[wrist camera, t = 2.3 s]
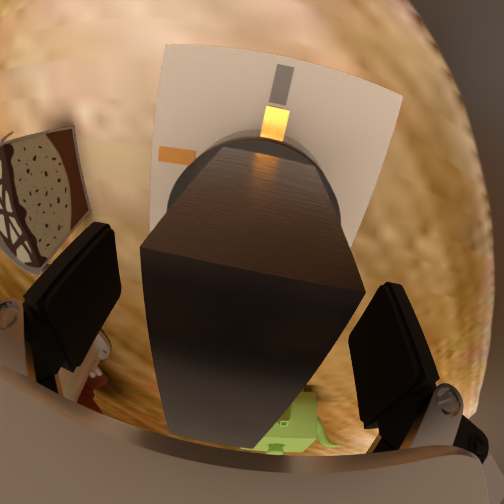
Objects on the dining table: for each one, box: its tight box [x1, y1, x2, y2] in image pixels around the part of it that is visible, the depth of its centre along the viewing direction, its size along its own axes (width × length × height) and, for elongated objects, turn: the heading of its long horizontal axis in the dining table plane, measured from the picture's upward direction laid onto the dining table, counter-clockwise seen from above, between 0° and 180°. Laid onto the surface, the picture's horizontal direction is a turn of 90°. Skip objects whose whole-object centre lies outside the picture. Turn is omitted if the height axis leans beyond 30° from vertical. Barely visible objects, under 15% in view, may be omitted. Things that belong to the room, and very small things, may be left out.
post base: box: [150, 45, 403, 248], centre depth 18 cm, size 18×18×7 cm
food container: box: [0, 126, 91, 275], centre depth 18 cm, size 12×6×10 cm, turn 1°
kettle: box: [240, 388, 339, 455], centre depth 37 cm, size 15×14×11 cm
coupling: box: [140, 105, 366, 449], centre depth 10 cm, size 9×8×12 cm
